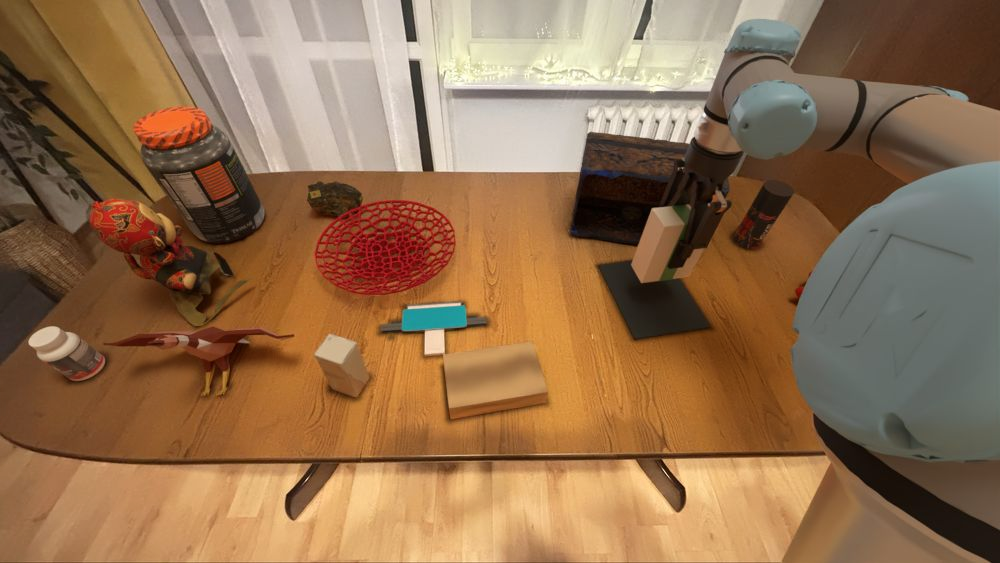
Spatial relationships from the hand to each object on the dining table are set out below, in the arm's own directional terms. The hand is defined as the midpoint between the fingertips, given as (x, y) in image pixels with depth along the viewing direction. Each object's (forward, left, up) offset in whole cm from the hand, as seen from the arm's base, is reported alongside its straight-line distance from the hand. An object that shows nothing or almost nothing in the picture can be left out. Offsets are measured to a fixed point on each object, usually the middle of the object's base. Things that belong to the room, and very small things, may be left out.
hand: (668, 255), depth 78 cm
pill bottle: (+1, +105, -11) cm, 106 cm away
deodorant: (+12, -30, -11) cm, 34 cm away
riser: (-15, +36, -11) cm, 40 cm away
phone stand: (-1, +45, -11) cm, 46 cm away
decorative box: (+22, -5, -11) cm, 25 cm away
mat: (0, 0, -11) cm, 11 cm away
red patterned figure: (+15, +90, -11) cm, 92 cm away
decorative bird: (-3, +82, -11) cm, 82 cm away
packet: (0, 0, +3) cm, 3 cm away
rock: (+39, +65, -11) cm, 77 cm away
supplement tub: (+38, +90, -11) cm, 98 cm away
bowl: (+20, +53, -11) cm, 58 cm away
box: (-10, +60, -11) cm, 62 cm away
